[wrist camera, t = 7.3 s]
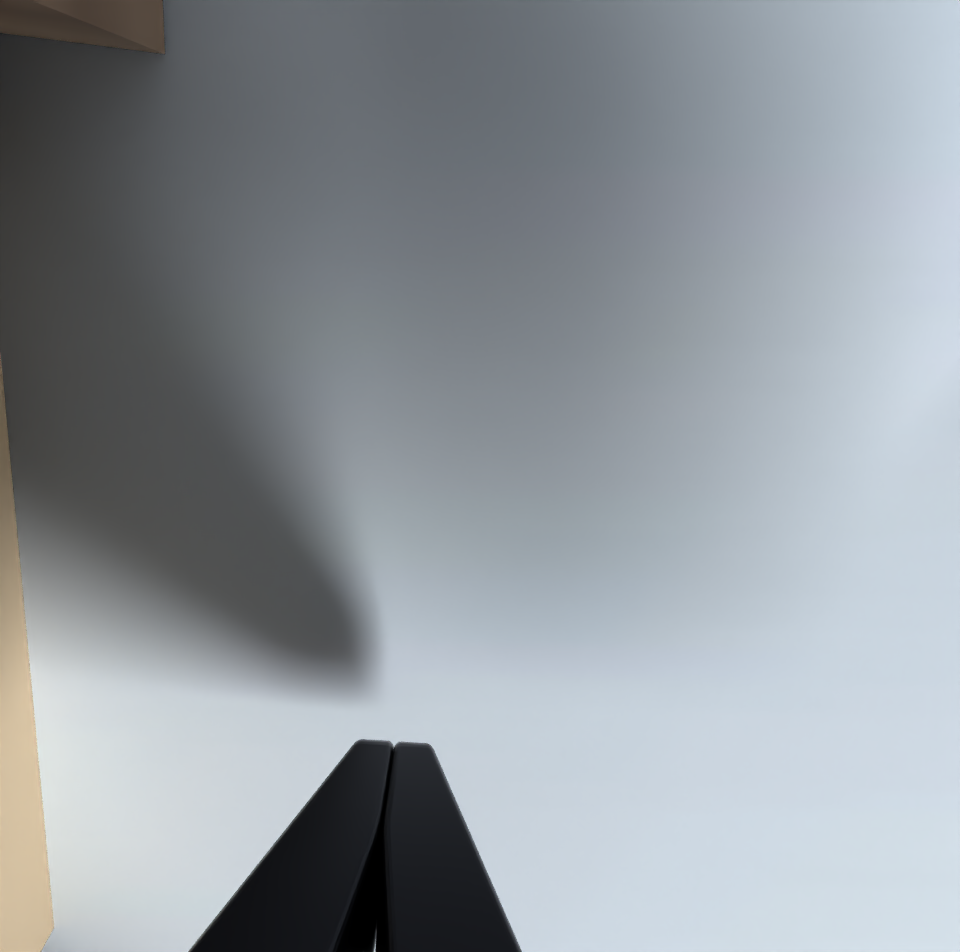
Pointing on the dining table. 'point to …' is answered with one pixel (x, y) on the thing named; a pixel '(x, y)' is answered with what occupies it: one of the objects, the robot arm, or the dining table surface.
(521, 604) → the dining table surface
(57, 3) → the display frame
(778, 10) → the dining table surface
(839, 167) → the dining table surface
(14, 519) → the carton
